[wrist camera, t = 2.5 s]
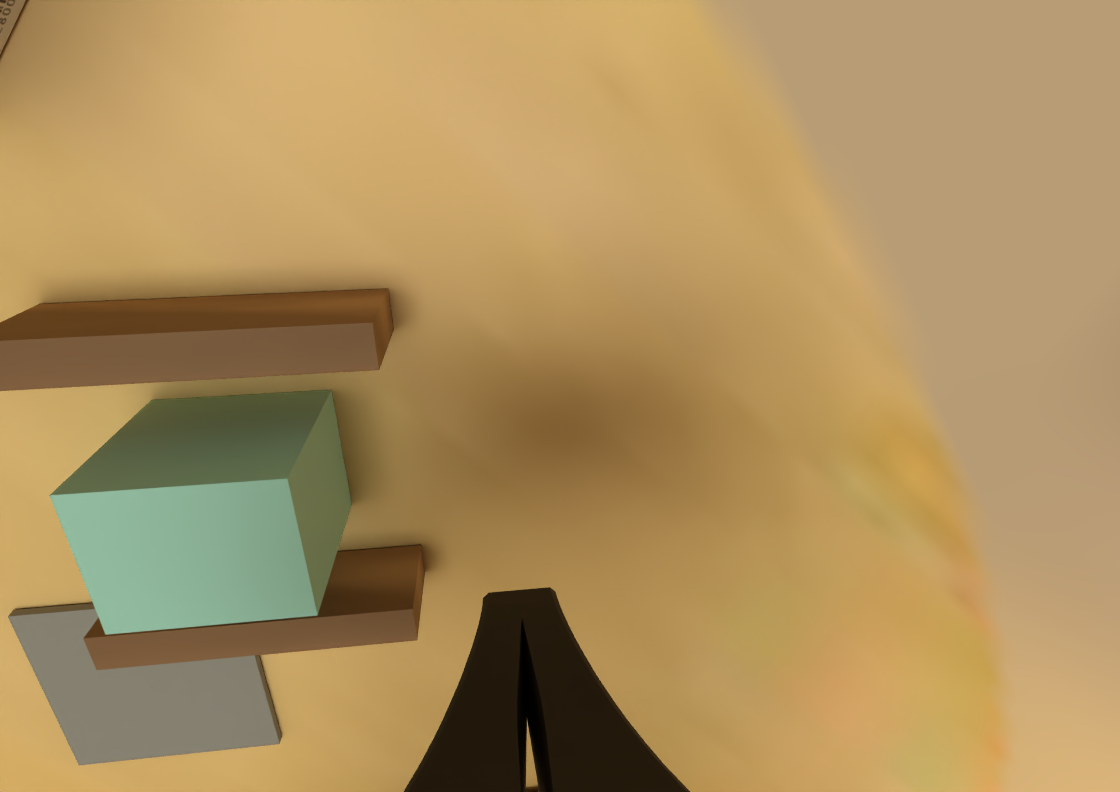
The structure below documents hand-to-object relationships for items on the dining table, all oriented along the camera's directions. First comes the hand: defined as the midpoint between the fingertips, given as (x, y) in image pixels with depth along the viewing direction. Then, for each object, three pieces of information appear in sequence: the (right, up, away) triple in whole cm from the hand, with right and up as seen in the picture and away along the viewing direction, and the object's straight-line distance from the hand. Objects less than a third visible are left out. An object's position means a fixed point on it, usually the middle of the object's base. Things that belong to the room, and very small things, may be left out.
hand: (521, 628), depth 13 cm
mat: (-13, -5, +10) cm, 17 cm away
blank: (-8, +3, +7) cm, 11 cm away
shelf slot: (-8, +3, +7) cm, 11 cm away
